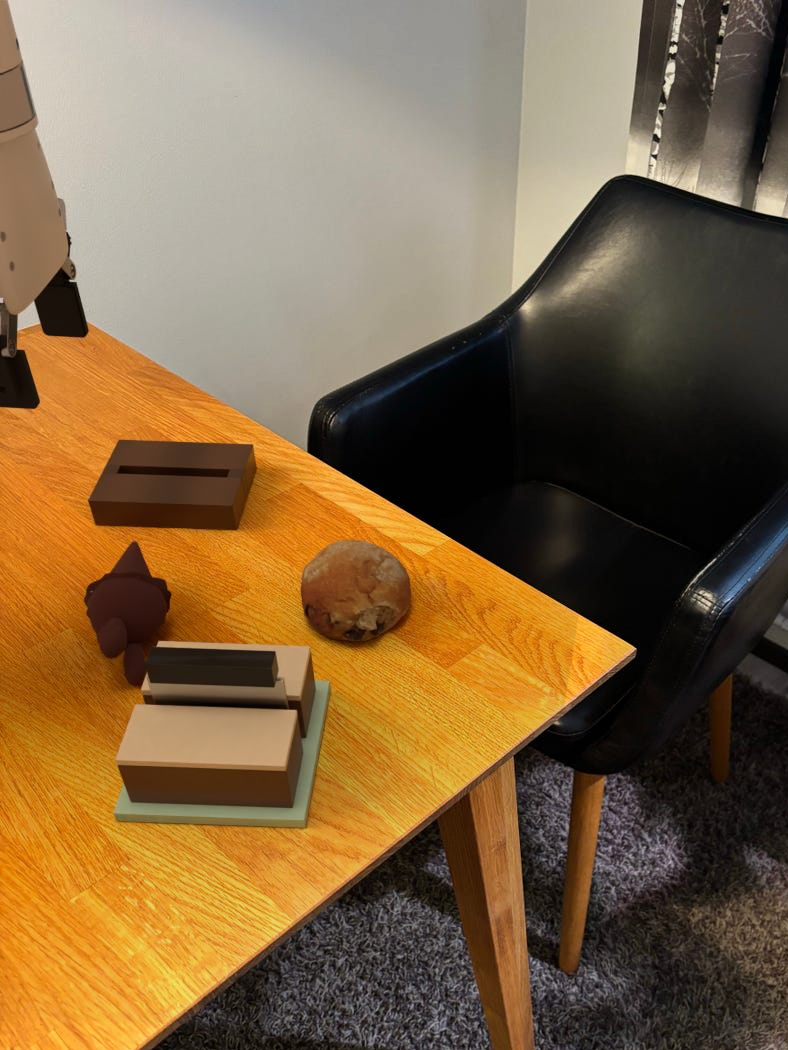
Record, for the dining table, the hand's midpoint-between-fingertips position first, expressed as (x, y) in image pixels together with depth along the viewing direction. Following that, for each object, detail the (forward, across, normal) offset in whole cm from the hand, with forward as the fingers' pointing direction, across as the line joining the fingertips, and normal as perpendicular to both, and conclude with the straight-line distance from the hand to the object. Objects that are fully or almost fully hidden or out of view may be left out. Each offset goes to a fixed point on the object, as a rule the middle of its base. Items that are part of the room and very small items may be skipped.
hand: (42, 368), depth 70 cm
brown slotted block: (+26, -21, 0) cm, 33 cm away
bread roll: (+26, -5, +20) cm, 33 cm away
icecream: (+26, -1, +1) cm, 26 cm away
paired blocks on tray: (+26, +12, +12) cm, 31 cm away
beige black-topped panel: (+25, +12, +12) cm, 30 cm away
